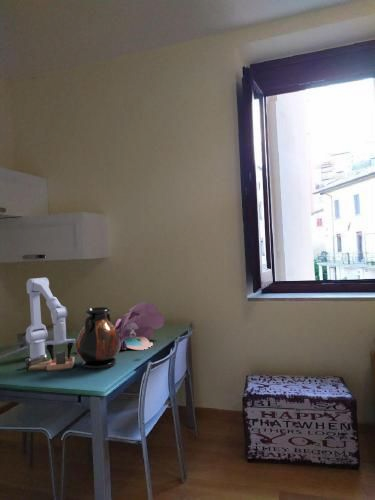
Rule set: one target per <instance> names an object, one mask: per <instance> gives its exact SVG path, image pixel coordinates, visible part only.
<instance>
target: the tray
mask: <svg viewBox="0 0 375 500" xmlns="http://www.w3.org/2000/svg"><path fill="white" fill-rule="evenodd" d="M49 360H50V361H49V363H48V364H47V366H46V369H45V370H46V372H51V371H60V370H70V369H71V370H72V369H73V367H74V364H75V356H70V358H69V359H68V356H67V357H66V364H57V365H56V358H54V360H52V359H51V358H50V359H49Z"/></svg>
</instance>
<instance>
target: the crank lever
mask: <svg viewBox="0 0 375 500" xmlns="http://www.w3.org/2000/svg"><path fill="white" fill-rule="evenodd" d="M47 360H48V355H40V356H39V357H36V358H33V359H31V358H30V357H29V358H28V357H27V358H25V359H24V362H25V367H30V366H31V365H33V364H36V363H39V362H44V361H47Z"/></svg>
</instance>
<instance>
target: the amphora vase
mask: <svg viewBox="0 0 375 500" xmlns="http://www.w3.org/2000/svg"><path fill="white" fill-rule="evenodd" d="M111 311H112V310H111V308H110V307H106V306H103V307H102V306H100V307H99V306H98V307H91V308H87V309H85V310H84V313H85V314H87V316H88V317H86V318H85V321H84V326H83V327H82V329H81V330H80V332H79V333H78V335H77V340H76V353H77V355H78V356H79V358H80V359H81V360H82V361H83V362H82V367H83V368H84V369H86V370H92V371H94V370H95V371H97V370H98V371H99V370H105V369H108V368H111V367H113V366H115V365H116V363H117V358H116V356H117V355H118V354H119V353H120V350H121V349H120V347H121V340H120V336H119V333H118V331H117V329H116V328H115V326H114V324H113V323H112V322H111V314H110V313H109V312H111Z"/></svg>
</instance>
